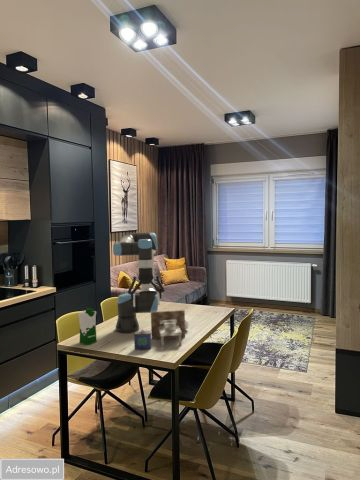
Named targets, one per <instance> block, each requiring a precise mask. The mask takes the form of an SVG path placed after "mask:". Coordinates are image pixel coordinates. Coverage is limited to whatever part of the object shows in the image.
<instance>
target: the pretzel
mask: <svg viewBox="0 0 360 480" xmlns="http://www.w3.org/2000/svg"><path fill="white" fill-rule="evenodd" d="M189 326H190V324H189V321H188V320H187V319H186V318H185V331H187V330H188V329H189Z"/></svg>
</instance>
